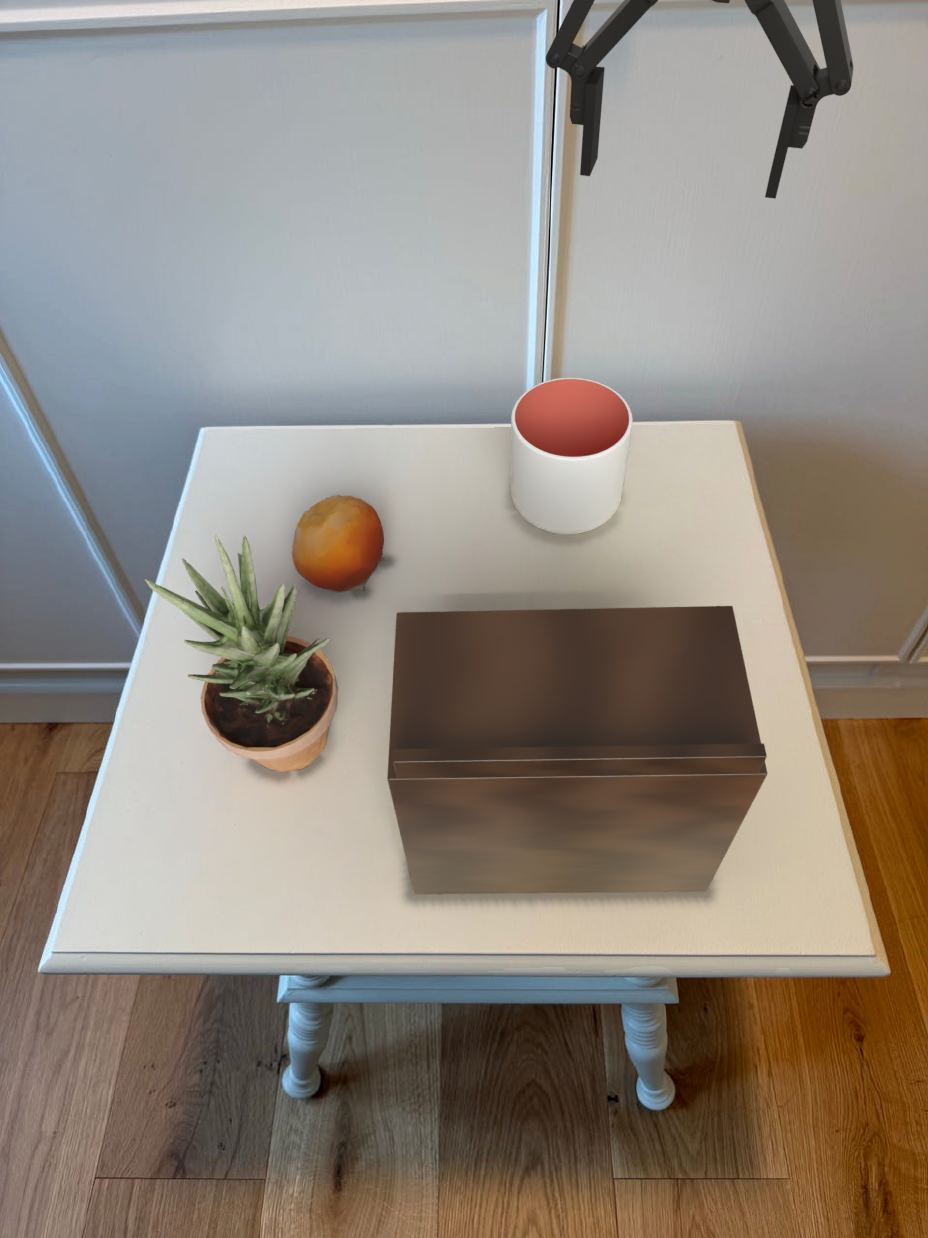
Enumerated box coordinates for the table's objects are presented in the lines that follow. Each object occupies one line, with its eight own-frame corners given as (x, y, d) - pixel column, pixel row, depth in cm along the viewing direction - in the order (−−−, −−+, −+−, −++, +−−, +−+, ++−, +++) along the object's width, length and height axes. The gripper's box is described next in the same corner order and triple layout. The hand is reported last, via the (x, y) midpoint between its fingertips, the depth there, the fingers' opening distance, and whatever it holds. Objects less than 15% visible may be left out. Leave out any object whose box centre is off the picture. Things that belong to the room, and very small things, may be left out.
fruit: (385, 609, 76) (327, 543, 71) (319, 616, 81) (261, 555, 76) (421, 538, 80) (369, 471, 76) (357, 549, 85) (303, 487, 80)
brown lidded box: (684, 747, 69) (739, 584, 53) (706, 891, 63) (777, 756, 47) (419, 751, 70) (393, 591, 54) (414, 894, 63) (382, 762, 47)
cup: (643, 508, 83) (658, 425, 75) (555, 558, 80) (560, 477, 72) (574, 445, 88) (581, 361, 80) (489, 490, 85) (487, 407, 77)
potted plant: (226, 805, 68) (109, 606, 48) (225, 696, 73) (120, 476, 53) (361, 784, 68) (302, 578, 48) (350, 677, 74) (293, 453, 54)
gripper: (501, -183, 52) (503, 183, 69) (975, -164, 47) (850, 226, 64) (535, -220, 56) (529, 133, 73) (973, -207, 51) (856, 170, 68)
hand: (678, 177), depth 69 cm, fingers open, 13 cm apart
